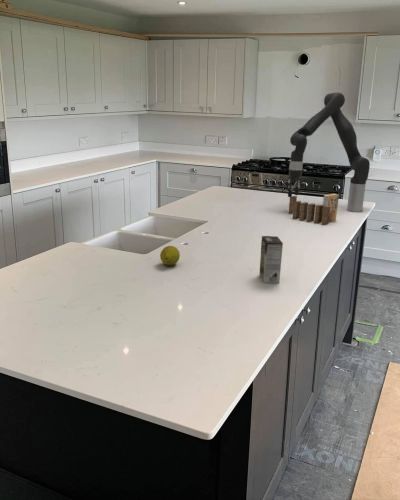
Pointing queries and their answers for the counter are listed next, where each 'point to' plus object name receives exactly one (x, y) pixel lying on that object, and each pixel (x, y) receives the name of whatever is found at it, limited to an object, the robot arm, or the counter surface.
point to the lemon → (170, 255)
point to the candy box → (333, 202)
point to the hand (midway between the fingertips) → (293, 196)
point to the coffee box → (270, 259)
